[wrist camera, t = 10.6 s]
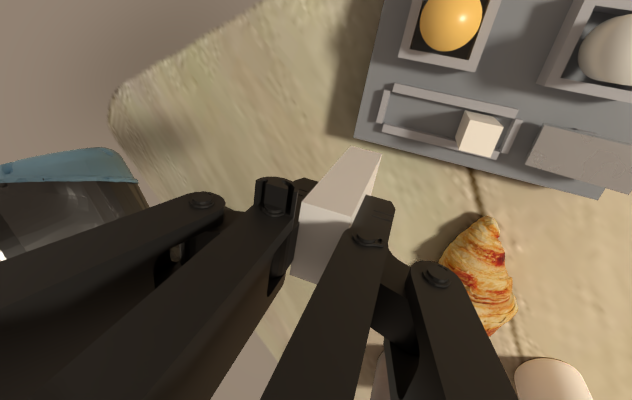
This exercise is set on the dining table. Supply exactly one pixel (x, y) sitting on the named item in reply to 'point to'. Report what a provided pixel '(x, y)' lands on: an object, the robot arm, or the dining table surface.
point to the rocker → (583, 157)
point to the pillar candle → (380, 381)
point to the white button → (608, 51)
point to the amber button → (450, 23)
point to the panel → (493, 85)
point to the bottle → (549, 381)
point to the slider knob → (478, 133)
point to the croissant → (483, 272)
